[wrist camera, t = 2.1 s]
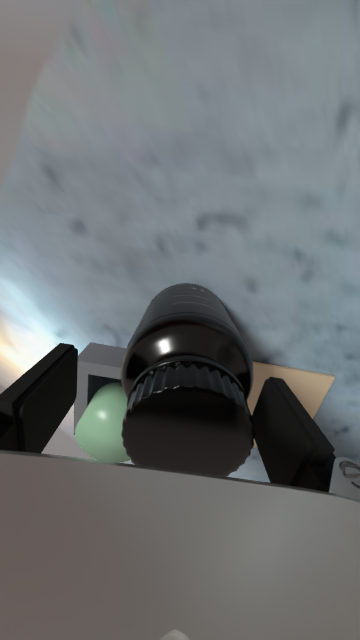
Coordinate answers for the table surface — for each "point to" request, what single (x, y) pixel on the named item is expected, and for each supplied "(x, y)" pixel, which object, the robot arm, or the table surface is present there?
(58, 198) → the table surface
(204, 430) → the supplement bottle
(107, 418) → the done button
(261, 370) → the beige square board
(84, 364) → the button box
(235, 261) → the table surface
